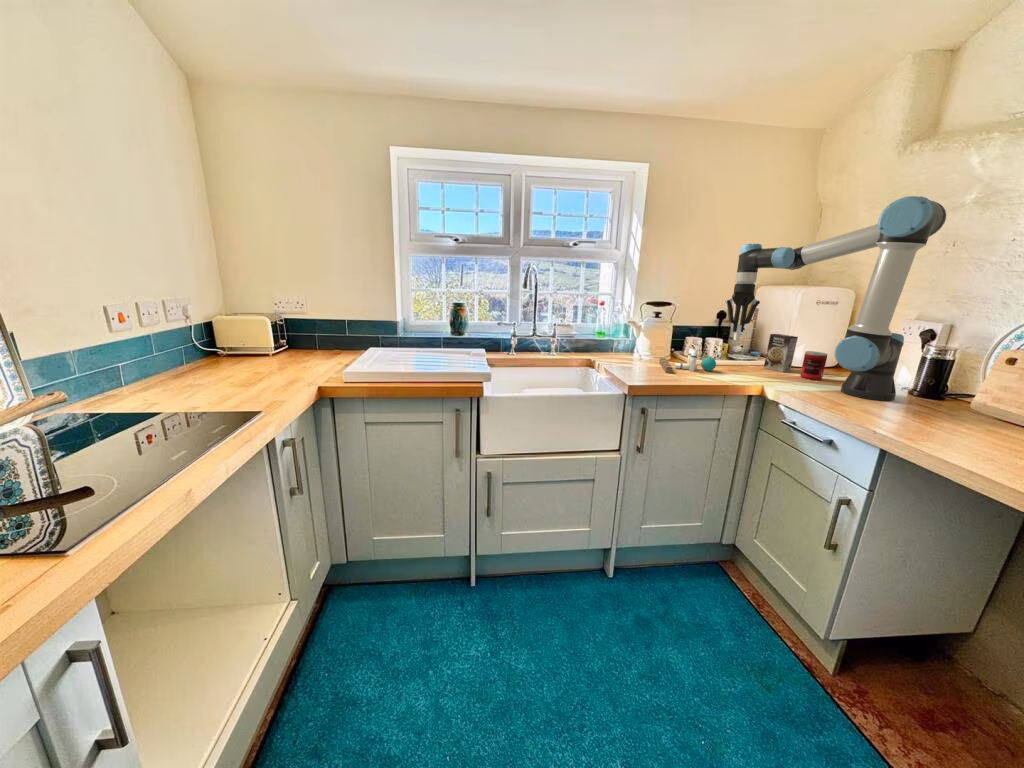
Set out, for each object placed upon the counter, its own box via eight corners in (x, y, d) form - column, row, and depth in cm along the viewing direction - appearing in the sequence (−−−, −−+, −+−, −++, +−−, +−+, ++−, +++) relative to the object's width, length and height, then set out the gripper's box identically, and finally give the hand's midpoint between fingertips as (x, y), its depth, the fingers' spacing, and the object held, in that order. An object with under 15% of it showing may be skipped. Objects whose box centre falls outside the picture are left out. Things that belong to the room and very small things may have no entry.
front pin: (697, 364, 180) (676, 362, 182) (696, 370, 181) (675, 368, 182) (696, 364, 183) (675, 362, 185) (695, 370, 183) (674, 368, 185)
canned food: (814, 376, 177) (820, 351, 175) (826, 381, 170) (832, 355, 167) (795, 375, 178) (801, 350, 175) (806, 380, 170) (812, 354, 168)
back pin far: (692, 369, 183) (695, 349, 181) (686, 368, 184) (689, 349, 182) (691, 368, 186) (694, 348, 184) (685, 367, 186) (688, 348, 184)
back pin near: (695, 371, 179) (698, 351, 176) (689, 371, 179) (692, 350, 177) (694, 370, 181) (697, 350, 179) (688, 370, 181) (691, 350, 179)
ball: (700, 363, 178) (706, 374, 179) (713, 356, 176) (720, 367, 177) (697, 360, 184) (703, 371, 185) (710, 353, 182) (716, 364, 183)
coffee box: (762, 368, 191) (769, 333, 187) (771, 367, 194) (777, 333, 190) (782, 372, 183) (790, 336, 179) (791, 371, 186) (798, 336, 182)
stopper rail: (671, 373, 174) (672, 367, 173) (665, 372, 174) (666, 367, 174) (664, 363, 195) (665, 358, 194) (659, 362, 195) (659, 357, 195)
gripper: (759, 283, 172) (750, 339, 177) (725, 282, 174) (717, 338, 180) (766, 283, 165) (756, 341, 170) (730, 282, 167) (722, 340, 173)
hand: (736, 339), depth 175 cm, fingers closed
